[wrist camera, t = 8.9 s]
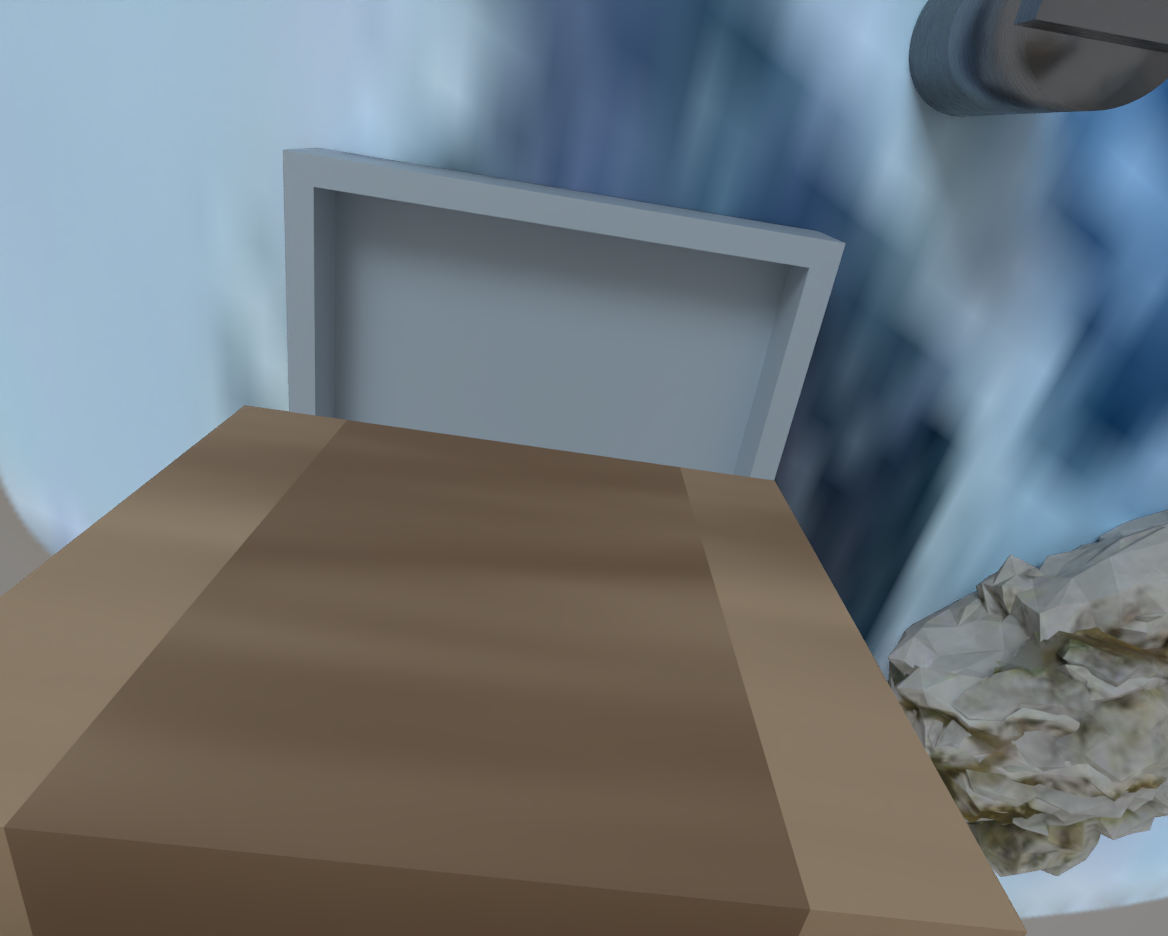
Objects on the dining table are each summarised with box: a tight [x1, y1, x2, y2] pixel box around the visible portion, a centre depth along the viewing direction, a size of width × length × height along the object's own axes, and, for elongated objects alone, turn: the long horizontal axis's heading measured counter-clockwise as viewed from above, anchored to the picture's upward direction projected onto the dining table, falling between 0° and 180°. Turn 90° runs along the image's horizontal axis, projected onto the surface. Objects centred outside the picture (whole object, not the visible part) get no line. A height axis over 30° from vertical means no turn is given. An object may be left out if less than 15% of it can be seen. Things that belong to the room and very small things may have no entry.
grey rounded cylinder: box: [909, 0, 1168, 116], centre depth 13 cm, size 3×3×5 cm
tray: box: [283, 148, 846, 480], centre depth 18 cm, size 12×12×2 cm
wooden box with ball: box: [0, 405, 1027, 936], centre depth 8 cm, size 8×7×6 cm
